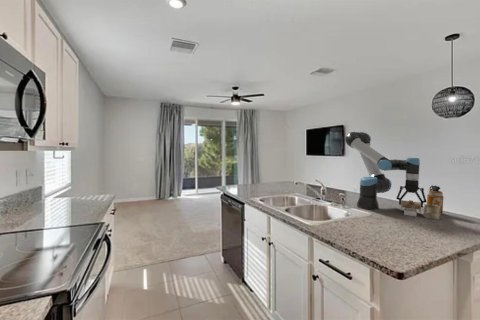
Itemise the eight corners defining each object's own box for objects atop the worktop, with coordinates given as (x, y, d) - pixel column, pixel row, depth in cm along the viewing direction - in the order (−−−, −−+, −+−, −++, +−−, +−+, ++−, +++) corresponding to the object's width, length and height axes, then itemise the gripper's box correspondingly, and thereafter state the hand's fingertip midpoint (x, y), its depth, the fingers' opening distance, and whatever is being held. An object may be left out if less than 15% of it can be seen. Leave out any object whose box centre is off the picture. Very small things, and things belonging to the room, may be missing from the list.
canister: (429, 214, 168) (431, 186, 167) (422, 210, 179) (424, 183, 178) (445, 215, 166) (446, 187, 164) (437, 211, 176) (438, 184, 175)
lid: (401, 207, 167) (402, 201, 166) (402, 203, 177) (402, 198, 177) (419, 209, 161) (420, 203, 161) (419, 205, 171) (419, 200, 171)
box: (424, 217, 160) (425, 207, 160) (423, 213, 169) (424, 204, 169) (440, 219, 156) (440, 209, 155) (438, 215, 165) (439, 205, 164)
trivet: (403, 214, 166) (404, 210, 166) (404, 210, 177) (404, 206, 177) (416, 216, 162) (416, 212, 162) (415, 212, 173) (416, 208, 173)
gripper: (392, 178, 171) (391, 209, 173) (433, 181, 158) (431, 214, 160) (393, 177, 178) (391, 207, 179) (432, 180, 165) (430, 212, 166)
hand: (410, 210), depth 169 cm, fingers closed on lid, 10 cm apart
